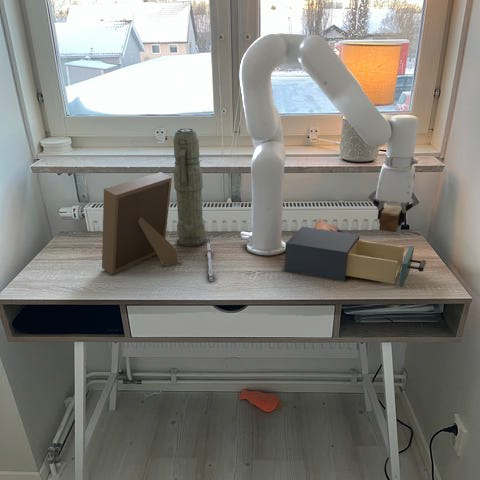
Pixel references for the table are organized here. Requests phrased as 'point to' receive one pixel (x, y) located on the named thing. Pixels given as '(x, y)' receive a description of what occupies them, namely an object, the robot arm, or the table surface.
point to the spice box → (390, 218)
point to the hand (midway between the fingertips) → (390, 222)
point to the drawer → (380, 262)
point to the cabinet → (319, 252)
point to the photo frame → (136, 223)
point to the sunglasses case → (325, 226)
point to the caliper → (209, 259)
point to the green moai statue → (188, 188)
